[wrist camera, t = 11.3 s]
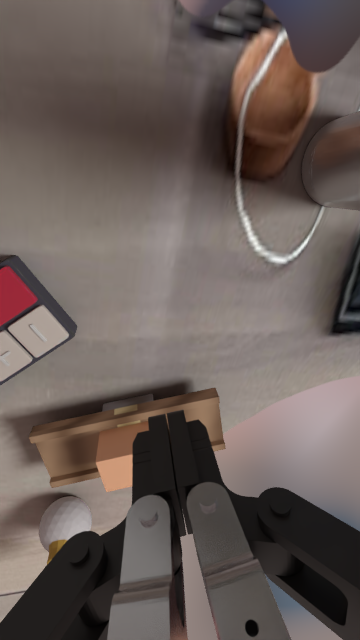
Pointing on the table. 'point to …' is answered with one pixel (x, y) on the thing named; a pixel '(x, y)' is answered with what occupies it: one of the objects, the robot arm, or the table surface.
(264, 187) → the table surface
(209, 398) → the beam
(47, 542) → the perfume bottle
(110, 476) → the block
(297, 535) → the robot arm
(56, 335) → the calculator
